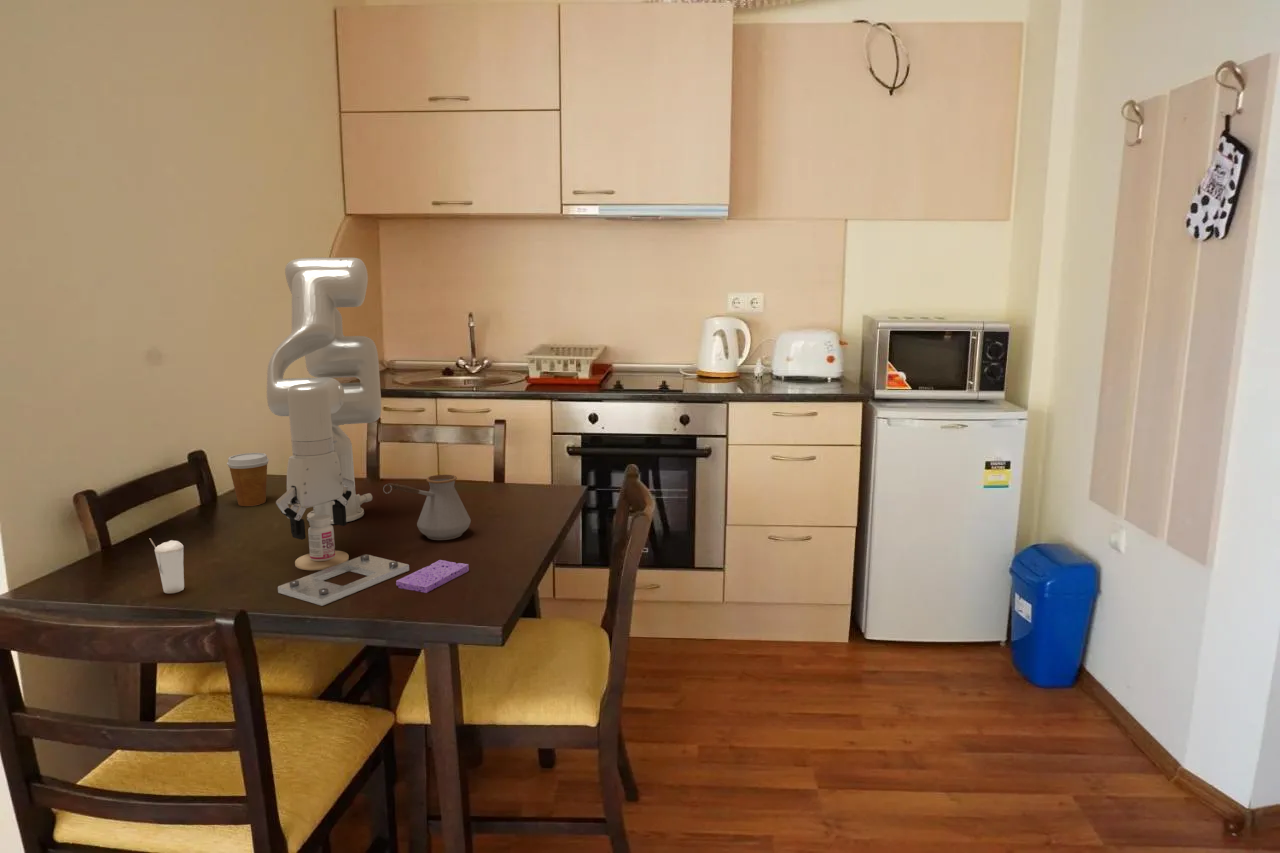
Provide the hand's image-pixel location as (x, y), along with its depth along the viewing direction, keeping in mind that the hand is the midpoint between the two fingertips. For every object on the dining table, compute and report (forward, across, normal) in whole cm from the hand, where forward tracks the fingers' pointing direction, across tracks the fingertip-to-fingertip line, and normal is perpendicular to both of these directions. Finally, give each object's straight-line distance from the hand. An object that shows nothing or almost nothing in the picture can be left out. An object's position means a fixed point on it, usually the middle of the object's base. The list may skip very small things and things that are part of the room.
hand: (320, 531), depth 165 cm
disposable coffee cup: (+7, -20, -52) cm, 56 cm away
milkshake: (+6, +24, -11) cm, 27 cm away
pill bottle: (+6, 0, 0) cm, 6 cm away
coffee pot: (+6, -20, +9) cm, 23 cm away
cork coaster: (+6, 0, 0) cm, 6 cm away
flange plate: (+6, +5, +13) cm, 16 cm away
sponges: (+7, -4, +27) cm, 28 cm away
